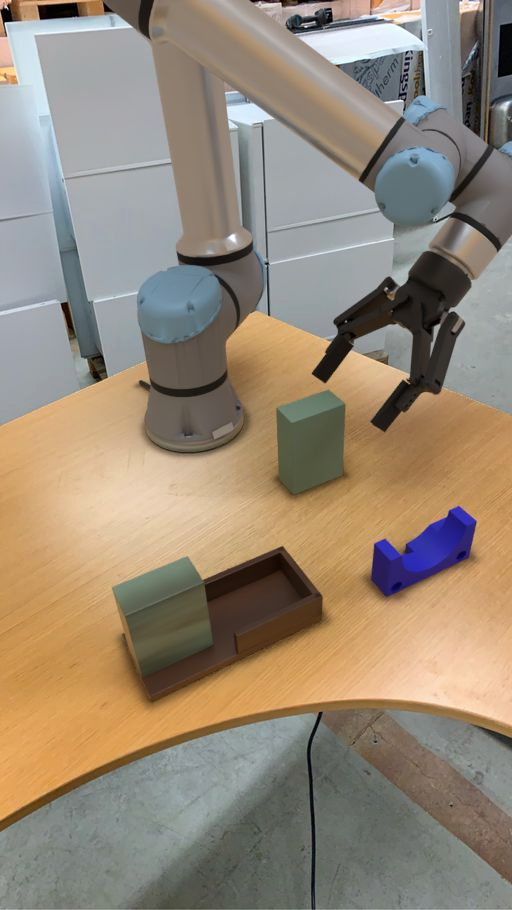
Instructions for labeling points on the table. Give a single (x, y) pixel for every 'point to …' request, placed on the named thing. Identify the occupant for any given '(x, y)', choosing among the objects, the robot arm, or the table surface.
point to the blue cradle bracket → (423, 553)
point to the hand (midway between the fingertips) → (345, 401)
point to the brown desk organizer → (211, 616)
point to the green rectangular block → (310, 441)
